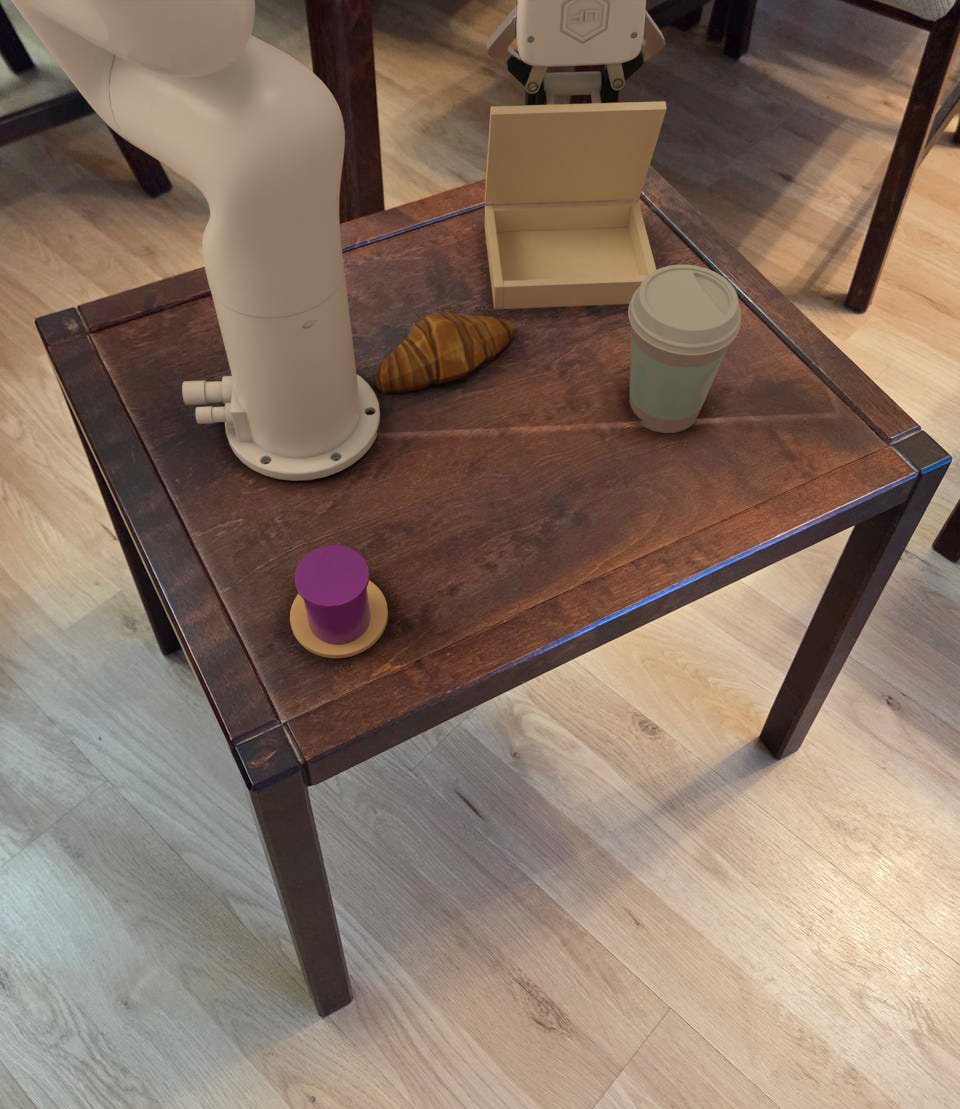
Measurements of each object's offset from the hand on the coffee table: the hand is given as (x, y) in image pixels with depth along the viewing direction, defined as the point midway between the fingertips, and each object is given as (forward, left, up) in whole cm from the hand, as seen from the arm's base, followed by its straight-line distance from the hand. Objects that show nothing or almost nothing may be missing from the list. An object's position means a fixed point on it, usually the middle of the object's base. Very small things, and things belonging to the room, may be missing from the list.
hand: (569, 123), depth 93 cm
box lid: (0, -2, -2) cm, 3 cm away
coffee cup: (+6, -24, -12) cm, 27 cm away
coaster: (-21, -43, -11) cm, 49 cm away
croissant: (-12, -18, -12) cm, 24 cm away
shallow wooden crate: (0, -6, -11) cm, 13 cm away
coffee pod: (-21, -43, -11) cm, 49 cm away
